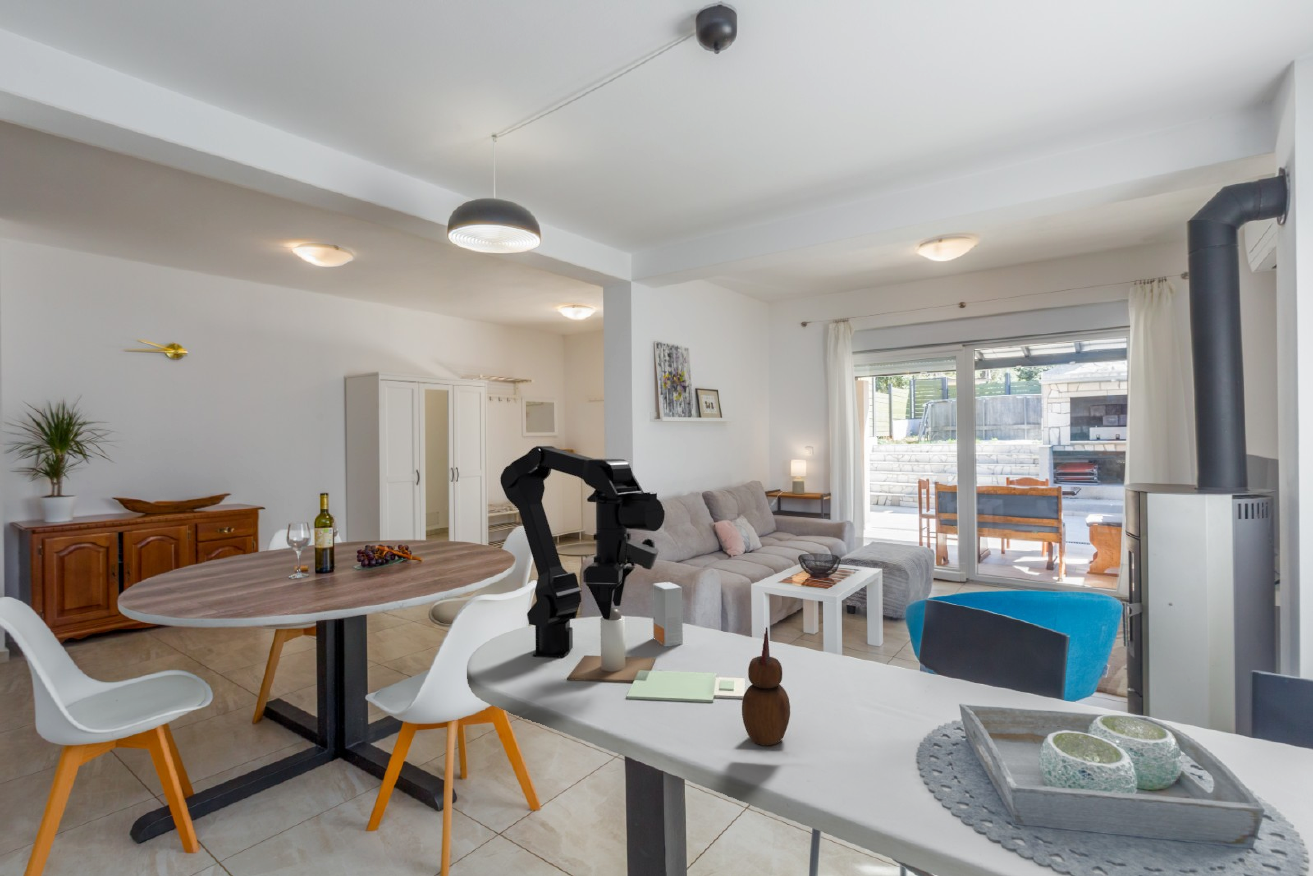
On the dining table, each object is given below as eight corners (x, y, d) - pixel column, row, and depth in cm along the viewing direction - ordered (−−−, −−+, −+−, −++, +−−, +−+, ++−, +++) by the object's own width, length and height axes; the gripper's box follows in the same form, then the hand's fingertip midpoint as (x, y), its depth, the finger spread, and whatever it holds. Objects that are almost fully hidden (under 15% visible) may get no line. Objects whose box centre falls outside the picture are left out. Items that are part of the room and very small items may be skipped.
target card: (707, 697, 103) (707, 692, 103) (710, 679, 111) (710, 675, 111) (744, 698, 102) (744, 694, 102) (745, 680, 110) (745, 676, 110)
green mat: (626, 698, 103) (626, 696, 103) (639, 672, 114) (639, 670, 114) (713, 702, 101) (713, 699, 101) (716, 675, 112) (716, 673, 112)
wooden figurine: (760, 725, 92) (758, 622, 92) (796, 736, 88) (794, 629, 89) (735, 742, 87) (733, 633, 87) (772, 755, 83) (770, 640, 83)
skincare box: (652, 640, 134) (651, 583, 134) (670, 637, 135) (669, 581, 136) (665, 648, 128) (664, 589, 128) (683, 645, 130) (682, 586, 130)
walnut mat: (567, 679, 111) (567, 677, 111) (584, 657, 123) (584, 655, 123) (645, 683, 109) (645, 680, 109) (655, 660, 121) (655, 657, 121)
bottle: (598, 671, 114) (597, 611, 114) (604, 662, 119) (603, 605, 119) (622, 672, 114) (622, 611, 114) (627, 663, 118) (626, 605, 118)
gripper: (646, 534, 106) (647, 628, 106) (661, 521, 125) (662, 601, 124) (582, 534, 108) (582, 626, 108) (606, 521, 126) (607, 599, 126)
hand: (612, 612), depth 116 cm, fingers open, 9 cm apart
